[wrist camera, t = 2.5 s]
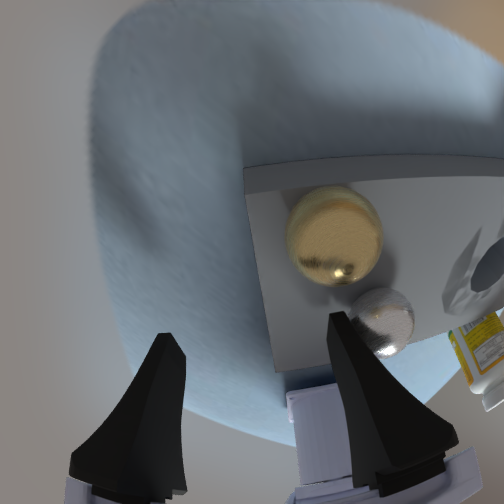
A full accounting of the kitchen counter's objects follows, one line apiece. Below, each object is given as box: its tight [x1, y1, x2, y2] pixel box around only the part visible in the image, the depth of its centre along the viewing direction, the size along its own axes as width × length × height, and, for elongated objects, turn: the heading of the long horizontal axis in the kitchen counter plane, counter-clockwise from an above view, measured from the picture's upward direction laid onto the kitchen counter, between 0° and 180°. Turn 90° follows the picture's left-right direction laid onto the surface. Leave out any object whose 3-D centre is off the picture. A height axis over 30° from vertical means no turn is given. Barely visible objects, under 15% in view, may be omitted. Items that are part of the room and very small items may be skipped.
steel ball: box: [348, 287, 415, 359], centre depth 11 cm, size 3×3×3 cm
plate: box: [243, 154, 504, 372], centre depth 13 cm, size 12×20×2 cm, turn 98°
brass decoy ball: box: [284, 186, 384, 287], centre depth 8 cm, size 3×3×3 cm
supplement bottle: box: [447, 312, 504, 412], centre depth 15 cm, size 5×5×10 cm
